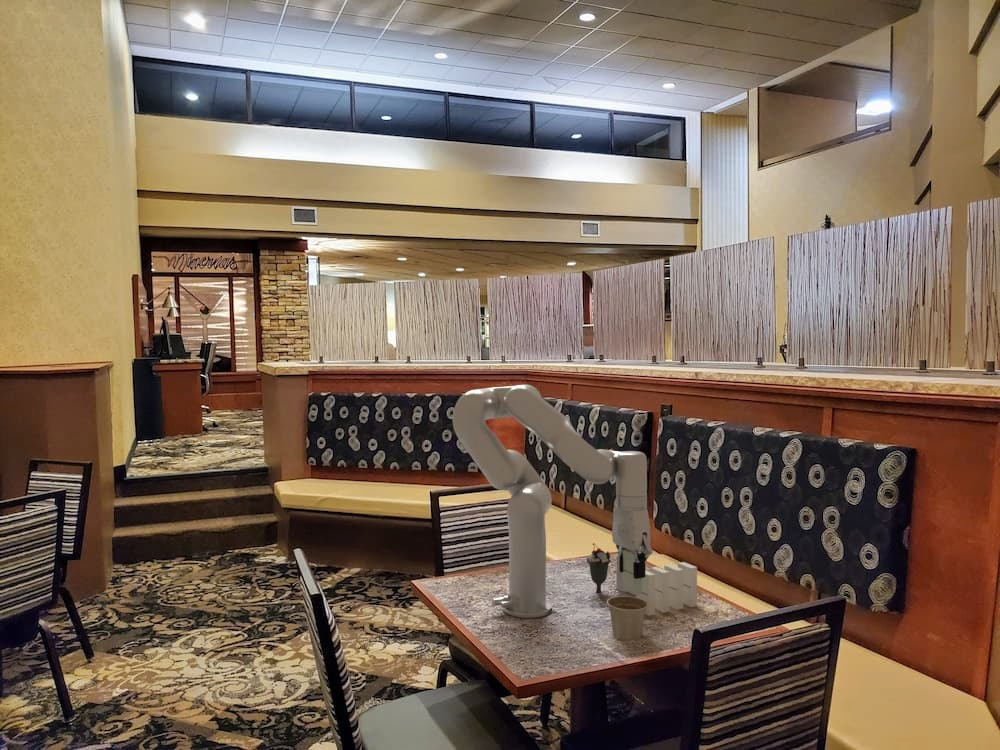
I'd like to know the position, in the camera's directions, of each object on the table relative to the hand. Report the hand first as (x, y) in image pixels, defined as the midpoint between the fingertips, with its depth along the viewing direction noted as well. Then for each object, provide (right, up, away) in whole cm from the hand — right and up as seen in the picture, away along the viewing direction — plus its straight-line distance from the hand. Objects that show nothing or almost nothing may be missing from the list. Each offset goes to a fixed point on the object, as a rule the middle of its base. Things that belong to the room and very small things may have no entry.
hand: (632, 573), depth 168 cm
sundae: (-6, -11, +16) cm, 21 cm away
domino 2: (+8, -10, +4) cm, 13 cm away
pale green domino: (0, -4, 0) cm, 4 cm away
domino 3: (+12, -10, +6) cm, 17 cm away
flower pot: (-4, -12, -12) cm, 17 cm away
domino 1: (+4, -10, +2) cm, 11 cm away
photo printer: (+4, -11, +21) cm, 24 cm away
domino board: (+7, -11, +4) cm, 14 cm away
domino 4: (+16, -10, +8) cm, 21 cm away
